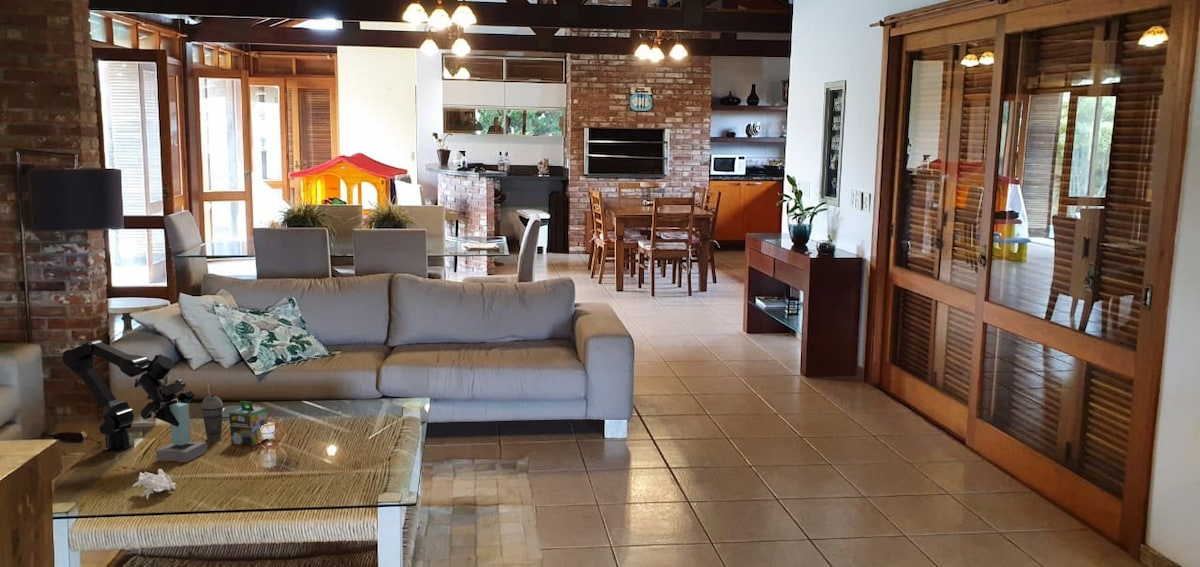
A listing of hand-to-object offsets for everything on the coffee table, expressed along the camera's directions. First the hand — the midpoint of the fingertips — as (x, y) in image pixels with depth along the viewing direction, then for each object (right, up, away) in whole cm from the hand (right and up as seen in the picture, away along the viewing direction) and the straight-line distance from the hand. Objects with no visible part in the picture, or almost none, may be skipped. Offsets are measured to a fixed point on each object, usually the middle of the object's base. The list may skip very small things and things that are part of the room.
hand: (183, 423), depth 310 cm
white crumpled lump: (+6, -16, -32) cm, 36 cm away
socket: (-1, -11, +2) cm, 11 cm away
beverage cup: (+2, -9, +21) cm, 22 cm away
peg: (-1, -6, +1) cm, 7 cm away
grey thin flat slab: (-3, -5, +54) cm, 54 cm away
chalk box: (+15, -9, +18) cm, 25 cm away
